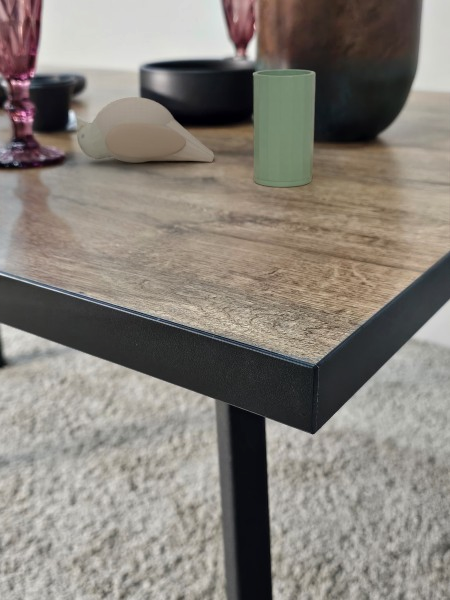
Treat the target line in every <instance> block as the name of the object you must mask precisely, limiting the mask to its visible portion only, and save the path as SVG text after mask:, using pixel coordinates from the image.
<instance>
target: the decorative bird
mask: <svg viewBox="0 0 450 600" xmlns="http://www.w3.org/2000/svg"><path fill="white" fill-rule="evenodd" d="M75 120H76V126H77V127H76V129H77V135H76V137H77V143H78V147H79V148H80V149H81V151H82V152H83V153H84V154H85V156H87V157H89V158H92V159H95V160H103V159H106V158H113V159H115V160H117V161H120V162H123V163H132V164H134V163H135V164H140V163H146V162H170V161H171V162H204V163H205V162H208V163H212V162H213V160H214V159H215V155H214V154H215V153H214V152H213V150H211V149H210V148H208V147H206V146H205V145H204V144H203V143H202V142H201V141H200V140H198V139H197V138H196V137H195V136H194V135H193V134H191V132H189V131H188V129H186V128H185V127H183V126H182V125H181V124H180V123H179V122H178V121H177V120H176V119H175V118H174V116H173V114H171V112H170V111H169V110H168V108H166V107H165V106H163V104H160V103H159V102H156V101H155V100H153V99H149V98H145V97H139V96H131V97H130V96H129V97H128V96H127V97H122V98H119V99H116V100H113V101H112V102H110V103H107V104H106V105H105V106H104V107H102V109H100V110H99V112H98V113H97V114H96V116H95V118H94V119H93V120H92V122H87V121H85V120H83V119H81V118H79V117H75Z"/></svg>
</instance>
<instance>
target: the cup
mask: <svg viewBox="0 0 450 600" xmlns="http://www.w3.org/2000/svg"><path fill="white" fill-rule="evenodd" d="M315 104H316V72H315V71H313V70H309V69H308V70H307V69H288V68H287V69H265V70H264V69H263V70H258V71H255V72H253V73H252V138H253V139H252V140H253V141H252V144H253V145H252V146H253V147H252V148H253V149H252V150H253V153H252V155H253V156H252V157H253V161H252V166H253V167H252V168H253V169H252V170H253V171H252V172H253V173H252V174H253V181H254V183H256V184H258V185H260V186H261V185H262V186H266V187H272V188H293V187H301V186H305V185H308V184H310V183H311V182H312V181H313V175H314V146H315V145H314V143H315V142H314V141H315V140H314V138H315V108H316V107H315V106H316V105H315Z"/></svg>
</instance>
